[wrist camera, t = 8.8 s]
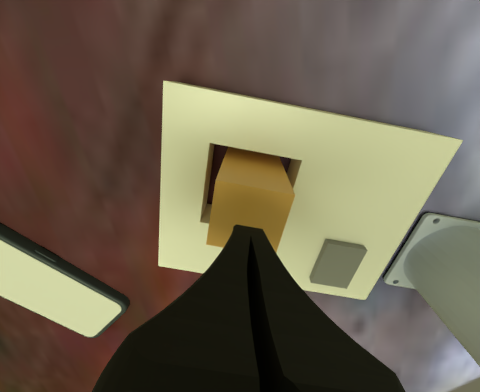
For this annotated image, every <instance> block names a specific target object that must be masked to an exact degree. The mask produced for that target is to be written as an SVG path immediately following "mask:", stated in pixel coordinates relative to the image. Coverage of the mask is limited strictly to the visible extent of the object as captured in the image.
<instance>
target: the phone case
mask: <svg viewBox="0 0 480 392" xmlns="http://www.w3.org/2000/svg"><path fill="white" fill-rule="evenodd" d="M0 296H1V297H3V298H5V299H7V300H9V301H12V302H14V303H16V304H18V305H20V306H22V307H24V308H26V309H28V310H31V311H33V312H35V313H37V314H39V315H41V316H43V317H45V318H47V319H49V320H52V321H54V322H56V323H58V324H60V325H62V326H64V327H66V328H68V329H71V330H73V331H75V332H77V333H79V334H81V335H83V336H85V337H89V338H96V337H98V336H100V335H101V334H102V333H103V332H104V331H105V330H106V329H107V328H108V327H109V326H110V325H112V324H113V323H114V322H115V321H116V320H117V319H118V318H119V317H120V316H121V315H122V314H123V313H125V311H126V310H127V308H128V306H129V304H130V302H129V299H128V298H127V297H126V296H125V295H123V294H121V293H120V292H118V291H116V290H115V289H113V288H111V287H110V286H108V285H106V284H104V283H103V282H101V281H99V280H98V279H96V278H94V277H93V276H91V275H89V274H87V273H86V272H84V271H82V270H81V269H79V268H77V267H75V266H74V265H72V264H70V263H69V262H67V261H65V260H63V259H62V258H60V257H58V256H57V255H55V254H53V253H52V252H50V251H48V250H46V249H45V248H43V247H41V246H40V245H38V244H36V243H34V242H33V241H31V240H29V239H27V238H26V237H24V236H22V235H21V234H19V233H17V232H15V231H14V230H12V229H10V228H8V227H7V226H5V225H3V224H1V223H0Z"/></svg>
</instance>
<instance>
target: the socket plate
mask: <svg viewBox="0 0 480 392" xmlns="http://www.w3.org/2000/svg"><path fill="white" fill-rule="evenodd" d="M462 141H463V140H459V139H455V138H451V137H447V136H443V135H439V134H435V133H431V132H427V131H422V130H417V129H412V128H407V127H402V126H397V125H392V124H387V123H382V122H377V121H372V120H367V119H362V118H357V117H352V116H347V115H342V114H337V113H332V112H327V111H322V110H317V109H312V108H307V107H302V106H297V105H292V104H287V103H282V102H277V101H272V100H267V99H262V98H257V97H252V96H247V95H242V94H237V93H232V92H227V91H222V90H217V89H212V88H207V87H202V86H197V85H192V84H187V83H182V82H174V81H163V116H162V152H161V188H160V224H159V260H158V266H162V267H168V268H174V269H180V270H186V271H192V272H198V273H204V272H205V271H206V270H207V269H208V268H209V267H210V265H211V264H212V263H213V262H214V260H215V259H216V258H217V256H218V255H219V254H220V252H221V251H222V249H223V247H217V246H211V245H206V241H207V234H208V228H209V221H210V214H211V208H212V204H207V199H208V191H209V184H210V176H211V169H212V161H213V153H214V146H215V144H218V145H224V146H229V147H234V148H239V149H245V150H250V151H255V152H261V153H266V154H271V155H276V156H282V157H287V158H291V161H290V164H289V168H288V171H287V176H288V179H289V181H290V184H291V186H292V188H293V191H294V193H295V197H294V200H293V203H292V206H291V210H290V213H289V216H288V219H287V222H286V225H285V228H284V231H283V234H282V237H281V240H280V243H279V246H278V249H277V252H276V254H277V255H278V257H279V258H280V260H281V262H282V263H283V265H284V266H285V268H286V269H287V270H288V272H289V273H290V275H291V276H292V277H293V279H294V280H295V281H296V283H297V284H298V285H299V286H300V287H301V289H302V290H307V291H313V292H319V293H325V294H332V295H338V296H344V297H350V298H356V299H362V300H366V298H367V296H368V295H369V293H370V291H371V290H372V288H373V287H374V285H375V283H376V282H377V280H378V278H379V277H380V275H381V274H382V272H383V270H384V269H385V267H386V265H387V264H388V262H389V260H390V259H391V257H392V256H393V254H394V252H395V251H396V249H397V247H398V246H399V244H400V243H401V241H402V239H403V238H404V236H405V234H406V233H407V231H408V229H409V228H410V226H411V225H412V223H413V221H414V220H415V218H416V216H417V215H418V213H419V211H420V210H421V208H422V207H423V205H424V203H425V202H426V200H427V198H428V197H429V195H430V194H431V192H432V190H433V189H434V187H435V185H436V184H437V182H438V180H439V179H440V177H441V176H442V174H443V172H444V171H445V169H446V167H447V166H448V164H449V163H450V161H451V159H452V158H453V156H454V154H455V153H456V151H457V149H458V148H459V146H460V145H461V143H462Z"/></svg>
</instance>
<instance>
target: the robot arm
mask: <svg viewBox="0 0 480 392" xmlns="http://www.w3.org/2000/svg"><path fill="white" fill-rule="evenodd" d="M434 219H435V220H434ZM433 220H434V221H433ZM384 281H385V283H386V284H389V285H395V286H401V287H407V288H412V289H416V290H417V291H418V292H419V293H420V295H421V296H422V297H423V298H424V299H425V301H426V302H427V303H428V304H429V305H430V307H431V308H432V309H433V310H434V312H435V313H436V314H437V315H438V316H439V318H440V319H441V320H442V321H443V323H444V324H445V325H446V326H447V327H448V329H449V330H450V331H451V332H452V333H453V335H454V336H455V337H456V338H457V340H458V341H459V342H460V343H461V344H462V346H463V347H464V348H465V349H466V350H467V352H468V353H469V354H470V355H471V357H472V358H473V359H474V360H475V361H476V363H477V364H478V365H479V366H480V222H478V221H472V220H467V219H461V218H456V217H451V216H445V215H440V214H434V213H426V214H424V215H423V216H422V218H421V219H420V221H419V222H418V224H417V226H416V227H415V229H414V230H413V232H412V234H411V235H410V237H409V238H408V240H407V242H406V243H405V245H404V246H403V248H402V249H401V251H400V253H399V254H398V256H397V257H396V259H395V261H394V262H393V264H392V265H391V267H390V269H389V270H388V272H387V273H386V275H385V277H384ZM92 392H405V390H404V388H403V386H402V384H401V383H400V381H399V379H398V377H397V376H396V374H395V373H394V372H393V371H392V370H390V369H389V368H388V367H387V366H385V365H384V364H383V363H382V362H380V361H379V360H378V359H376V358H375V357H374V356H373V355H371V354H370V353H369V352H368V351H366V350H365V349H364V348H362V347H361V346H360V345H359V344H358V343H356V342H355V341H354V340H353V339H352V338H351V337H350V336H348V335H347V334H346V333H345V332H344V331H343V330H342V329H340V328H339V327H338V326H337V325H336V324H335V323H334V322H333V321H332V320H331V319H330V318H329V317H328V316H327V315H326V314H325V313H324V312H323V311H322V310H321V309H320V308H319V307H318V306H317V305H316V304H315V303H314V302H313V301H312V300H311V299H310V298H309V297H308V296H307V294H306V293H305V292H304V291H303V290H302V289H301V287H300V286H299V285H298V284H297V283H296V281H295V280H294V279H293V277H292V276H291V275H290V273H289V272H288V270H287V269H286V268H285V266H284V265H283V263H282V262H281V260H280V258H279V257H278V255H277V254H276V252H275V250H274V249H273V247H272V245H271V243H270V242H269V240H268V238H267V236H266V234H265V232H264V231H263V229H260V228H254V227H249V226H243V225H237V224H236V225H235V226H234V227H233V231H232V234H231V236H230V238H229V240H228V241H227V243H226V245H225V246H224V248H223V249H222V251H221V252H220V254H219V255H218V256H217V258H216V259H215V260H214V262H213V263H212V264H211V265H210V267H209V268H208V269H207V270H206V271H205V272H204V273H203V275H202V276H201V277H200V278H199V279H198V280H197V281H196V282H195V283H194V284H193V285H192V286H191V287H190V288H189V289H187V290H186V291H185V292H184V293H183V294H182V295H181V296H179V297H178V298H177V299H176V300H175V301H173V302H172V303H171V304H170V305H168V306H167V307H166V308H165V309H164V310H162V311H161V312H160V313H158V314H157V315H155V316H154V317H153V318H151V319H150V320H148V321H147V322H145V323H144V324H143V325H141V326H140V327H138V328H137V329H135V330H134V331H132V332H131V333H130V334H129V335H128V336H127V337H126V338H125V340H124V341H123V342H122V344H121V345H120V346H119V348H118V349H117V350H116V352H115V353H114V355H113V356H112V358H111V359H110V361H109V362H108V364H107V366H106V367H105V369H104V370H103V372H102V373H101V375H100V377H99V379H98V381H97V383H96V385H95V387H94V389H93V390H92Z"/></svg>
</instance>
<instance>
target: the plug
mask: <svg viewBox="0 0 480 392" xmlns="http://www.w3.org/2000/svg"><path fill="white" fill-rule="evenodd" d="M294 197H295V193H294V191H293V188H292V186H291V184H290V181H289V179H288V176H287V174H286V172H285V169H284V167H283V165H282V162H281V160H280V157H279V156H275V155H270V154H265V153H260V152H255V151H250V150H245V149H239V148H234V147H229V146H228V148H227V151H226V154H225V156H224V159H223V162H222V164H221V167H220V170H219V172H218V175H217V178H216V181H215V188H214V195H213V201H212V208H211V214H210V221H209V228H208V234H207V241H206V245H211V246H217V247H223V248H224V246H225V245H226V243H227V241H228V240H229V238H230V236H231V234H232V231H233V227H234V226H235V225H236V224H237V225H243V226H249V227H254V228H260V229H263V231H264V232H265V234H266V236H267V238H268V240H269V242H270V243H271V245H272V247H273V249H274V250H275V252H277V249H278V246H279V243H280V240H281V237H282V234H283V231H284V228H285V225H286V222H287V219H288V216H289V213H290V210H291V206H292V203H293V200H294Z"/></svg>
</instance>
